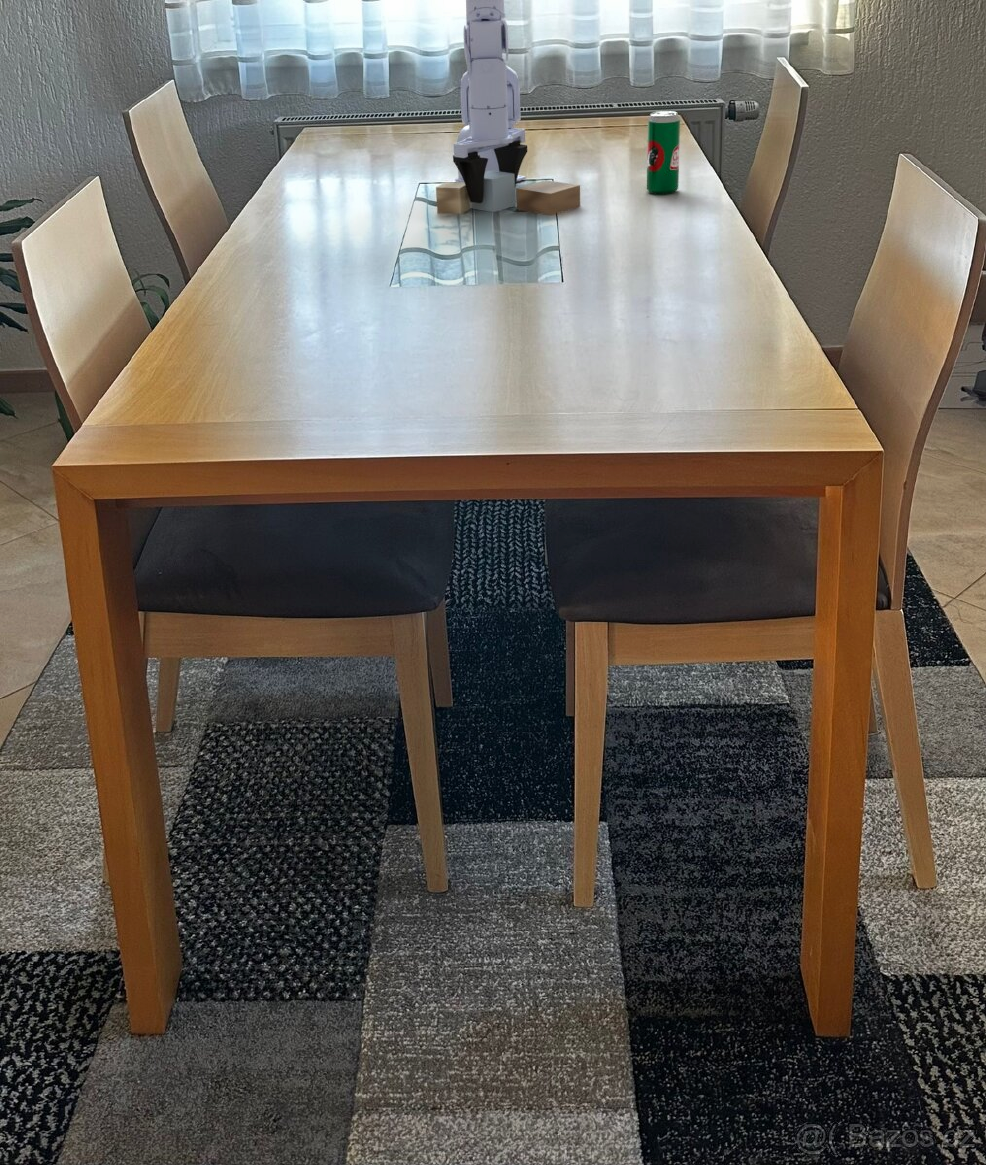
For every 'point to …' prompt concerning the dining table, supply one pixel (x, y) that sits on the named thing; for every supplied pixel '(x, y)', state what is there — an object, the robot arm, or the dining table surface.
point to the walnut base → (548, 197)
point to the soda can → (663, 152)
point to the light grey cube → (497, 191)
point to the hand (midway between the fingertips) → (492, 197)
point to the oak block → (452, 198)
